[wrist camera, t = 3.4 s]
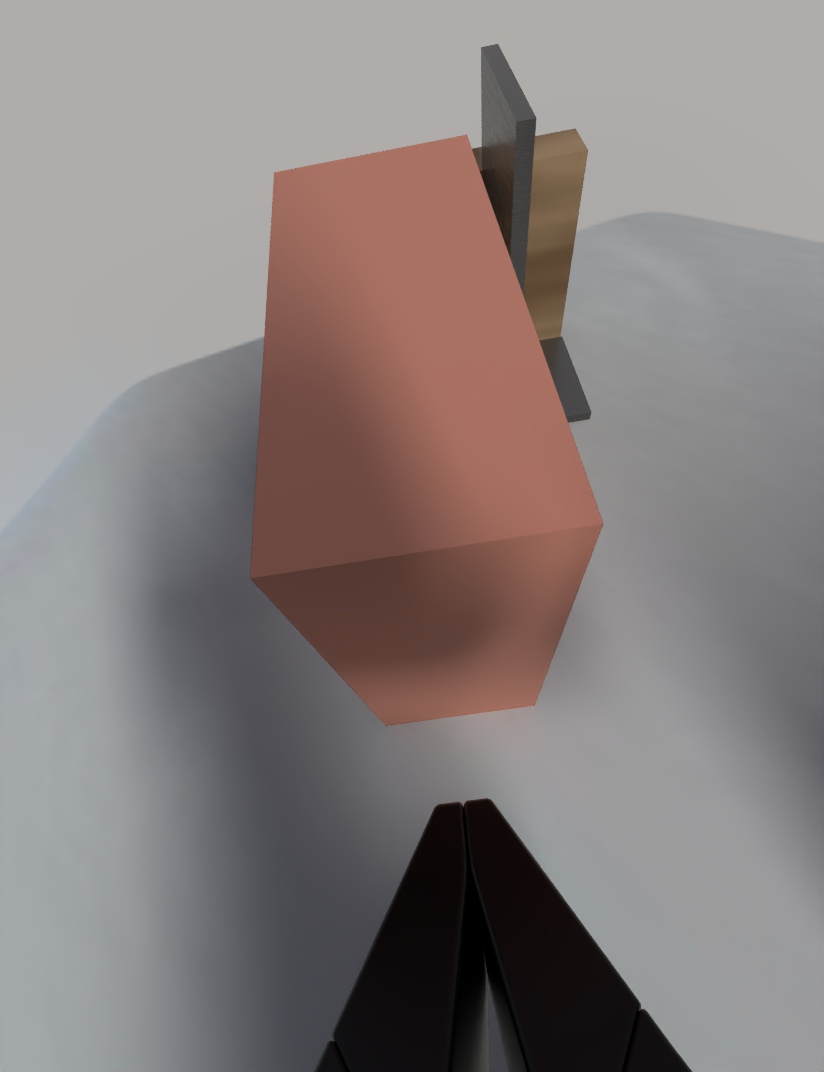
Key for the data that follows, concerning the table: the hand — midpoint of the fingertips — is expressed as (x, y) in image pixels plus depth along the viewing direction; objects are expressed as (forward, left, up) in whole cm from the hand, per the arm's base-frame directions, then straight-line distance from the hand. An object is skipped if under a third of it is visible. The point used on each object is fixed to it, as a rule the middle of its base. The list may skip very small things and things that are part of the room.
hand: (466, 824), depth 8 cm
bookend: (+19, +11, -13) cm, 25 cm away
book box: (+7, +8, -13) cm, 17 cm away
